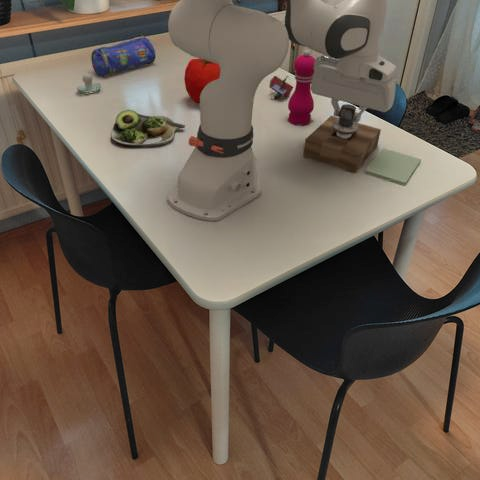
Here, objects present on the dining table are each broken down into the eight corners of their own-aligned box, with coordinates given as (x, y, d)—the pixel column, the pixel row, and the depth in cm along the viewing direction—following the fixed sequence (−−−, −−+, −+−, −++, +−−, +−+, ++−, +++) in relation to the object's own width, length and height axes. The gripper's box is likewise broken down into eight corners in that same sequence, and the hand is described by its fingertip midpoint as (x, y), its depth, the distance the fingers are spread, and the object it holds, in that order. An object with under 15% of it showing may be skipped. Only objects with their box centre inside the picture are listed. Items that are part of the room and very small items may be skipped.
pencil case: (144, 58, 178) (142, 30, 172) (159, 65, 174) (157, 36, 168) (90, 73, 166) (85, 44, 160) (105, 81, 162) (100, 51, 156)
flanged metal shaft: (348, 155, 126) (356, 115, 119) (325, 148, 129) (331, 108, 122) (357, 145, 131) (365, 106, 124) (335, 138, 133) (341, 99, 126)
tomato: (195, 90, 158) (193, 47, 149) (232, 97, 155) (233, 53, 146) (178, 106, 148) (175, 61, 140) (217, 114, 145) (217, 68, 137)
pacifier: (74, 91, 156) (80, 97, 152) (70, 71, 152) (76, 77, 148) (97, 86, 159) (103, 92, 155) (93, 66, 155) (100, 72, 151)
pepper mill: (310, 127, 140) (319, 55, 128) (285, 124, 141) (291, 53, 129) (313, 116, 146) (322, 46, 133) (288, 113, 147) (295, 43, 134)
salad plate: (186, 118, 143) (185, 103, 140) (183, 150, 130) (182, 133, 127) (118, 118, 142) (116, 103, 139) (108, 149, 129) (105, 133, 126)
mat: (404, 185, 119) (405, 182, 118) (364, 173, 122) (365, 170, 122) (420, 162, 127) (421, 159, 127) (382, 150, 131) (383, 148, 131)
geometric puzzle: (300, 89, 155) (287, 66, 152) (293, 97, 150) (280, 74, 148) (282, 99, 160) (269, 77, 157) (274, 107, 155) (261, 84, 152)
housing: (354, 173, 122) (358, 155, 119) (303, 156, 128) (305, 139, 125) (377, 146, 133) (381, 129, 130) (328, 132, 138) (331, 115, 135)
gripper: (309, 57, 118) (303, 112, 126) (394, 77, 110) (381, 134, 119) (321, 49, 122) (314, 103, 131) (403, 68, 114) (389, 124, 123)
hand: (346, 118), depth 125 cm, fingers closed on flanged metal shaft, 4 cm apart
